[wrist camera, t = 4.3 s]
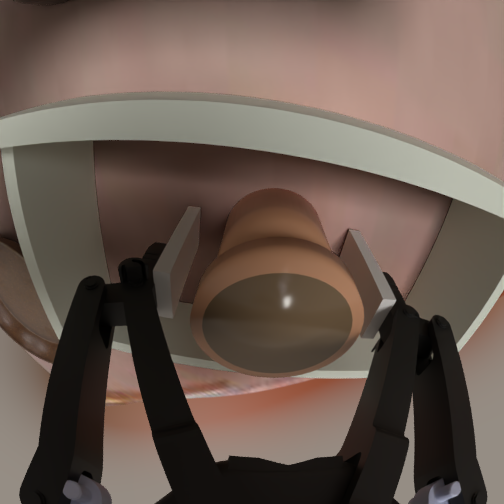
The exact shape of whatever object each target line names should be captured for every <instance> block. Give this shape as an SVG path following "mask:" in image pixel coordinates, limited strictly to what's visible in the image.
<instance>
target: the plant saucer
mask: <svg viewBox="0 0 504 504" xmlns="http://www.w3.org/2000/svg"><path fill="white" fill-rule="evenodd" d="M0 327H1V328H2V330H3V331H4V332H5V333H6V334H7V335H8V336H10V337H11V338H12V339H13V340H14V341H15V342H16V343H17V344H19V345H20V346H21V347H22V348H24V349H25V350H27V351H28V352H30V353H31V354H33V355H35V356H36V357H38V358H40V359H42V360H44V361H46V362H49V363H52V364H53V362H54V358H55V354H56V350H57V347H58V343H59V339H58V337H57V335H56V333H55V331H54V329H53V327H52V325H51V323H50V321H49V319H48V317H47V315H46V313H45V310H44V308H43V306H42V304H41V301H40V299H39V297H38V294H37V292H36V289H35V287H34V284H33V282H32V279H31V276H30V274H29V271H28V268H27V265H26V262H25V259H24V256H23V253H22V250H21V247H20V244H19V243H17V242H14V241H12V240H9V239H5V238H0Z"/></svg>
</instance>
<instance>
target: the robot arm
mask: <svg viewBox="0 0 504 504" xmlns="http://www.w3.org/2000/svg"><path fill="white" fill-rule="evenodd" d="M13 1H16V2H19V3H26V4H34V5H54V4H59V3H63V2H66V1H69V0H13ZM200 212H201V207H193V206H188V208H187V210H186V211H185V213H184V215H183V217H182V218H181V220H180V222H179V223H178V225H177V227H176V229H175V230H174V232H173V234H172V236H171V238H170V239H169V241H168V243H167V244H165V243H157V242H155V243H154V244H152V245H151V246H150V247H149V248H148V249H147V251H146V253H145V254H144V256H143V258H142V259H141V258H129V259H126V260H124V261H122V262H121V263H120V265H119V267H118V271H119V276H120V281H121V282H120V283H113V284H105V281H104V279H103V278H102V277H100V276H96V275H93V276H88V277H86V278H84V279H83V280H81V281H80V283H79V285H78V287H77V290H76V292H75V295H74V298H73V300H72V303H71V306H70V309H69V312H68V315H67V318H66V321H65V324H64V327H63V330H62V333H61V337H60V340H59V343H58V347H57V350H56V354H55V358H54V362H53V366H52V370H51V374H50V379H49V383H48V387H47V392H46V398H45V403H44V408H43V415H42V421H41V428H40V436H39V446H38V448H37V450H36V452H35V454H34V457H33V459H32V461H31V463H30V466H29V468H28V470H27V473H26V475H25V478H24V480H23V482H22V485H21V488H20V494H19V496H20V501H21V503H22V504H112V499H111V496H110V494H109V492H108V490H107V489H106V488H104V486H102V485H101V484H100V483H101V477H102V470H103V433H104V432H103V431H104V412H105V400H106V389H107V379H108V370H109V363H110V355H111V348H112V342H113V336H114V330H115V326H127V330H128V336H129V341H130V347H131V352H132V357H133V362H134V366H135V371H136V375H137V379H138V383H139V388H140V391H141V395H142V399H143V403H144V406H145V410H146V414H147V417H148V420H149V423H150V427H151V430H152V437H153V440H154V443H155V447H156V449H157V452H158V455H159V458H160V460H161V463H162V466H163V468H164V471H165V474H166V476H167V479H168V481H169V484H170V486H171V488H172V491H171V492H170V493H168V494H167V495H166V496H164V497H163V498H162V499H161V500H159V501H158V502H156V503H155V504H399V503H398V502H397V501H396V500H395V499H394V498H393V497H394V494H395V491H396V488H397V485H398V482H399V479H400V476H401V473H402V469H403V466H404V462H405V458H406V455H407V451H408V447H409V439H408V438H406V437H405V436H404V431H405V427H406V423H407V418H408V413H409V408H410V403H411V397H412V392H413V406H414V430H415V431H414V433H415V452H414V454H415V455H414V486H415V493H416V494H415V496H414V498H412V499H411V500H410V501H409V503H408V504H486V502H487V491H486V487H485V484H484V480H483V477H482V474H481V470H480V467H479V464H478V461H477V458H476V445H475V436H474V427H473V419H472V413H471V407H470V401H469V396H468V390H467V386H466V381H465V377H464V372H463V368H462V364H461V360H460V356H459V352H458V349H457V345H456V342H455V339H454V335H453V332H452V329H451V326H450V324H449V322H448V321H447V320H446V319H445V318H444V317H443V316H440V315H434V316H433V317H432V318H431V320H430V321H428V320H425V319H422V318H420V316H419V313H418V312H417V310H415V309H414V308H413V307H411V306H410V305H406V303H405V301H404V299H403V297H402V295H401V293H400V292H399V290H398V288H397V286H396V284H395V282H394V280H393V278H392V277H391V276H390V275H389V274H388V273H387V272H382V271H381V269H380V267H379V265H378V263H377V261H376V259H375V258H374V256H373V254H372V252H371V250H370V248H369V247H368V245H367V243H366V241H365V240H364V238H363V236H362V234H361V233H360V231H356V230H351V229H349V231H348V234H347V237H346V240H345V243H344V246H343V249H342V252H341V255H340V257H339V258H340V259H341V260H342V261H343V262H344V263H345V265H346V266H347V267H348V269H349V270H350V272H351V274H352V276H353V279H354V282H355V284H356V287H357V290H358V292H359V295H360V298H361V300H362V304H363V307H364V323H363V327H362V330H361V332H360V337H361V338H364V339H374V337H375V336H376V334H377V332H378V331H379V334H380V338H379V340H378V341H377V343H376V344H375V346H374V347H373V349H372V351H371V352H373V351H374V350H375V352H374V356H373V359H372V363H371V366H370V370H369V373H368V377H367V380H366V383H365V386H364V389H363V392H362V396H361V399H360V401H359V405H358V407H357V410H356V413H355V415H354V418H353V421H352V424H351V426H350V429H349V431H348V434H347V436H346V439H345V441H344V444H343V446H342V448H341V450H340V451H339V453H338V454H337V455H336V456H333V457H320V458H314V459H311V460H307V461H304V462H300V463H296V464H292V465H285V464H281V463H276V462H272V461H269V460H265V459H261V458H252V457H238V456H229V458H228V460H226V461H220V462H215V461H214V458H213V457H212V454H211V452H210V450H209V448H208V446H207V443H206V441H205V439H204V437H203V434H202V432H201V430H200V428H199V426H198V424H197V423H196V422H195V420H194V418H193V416H192V413H191V411H190V408H189V405H188V403H187V400H186V397H185V395H184V392H183V389H182V387H181V384H180V381H179V378H178V375H177V373H176V370H175V367H174V364H173V361H172V358H171V355H170V351H169V348H168V345H167V342H166V339H165V335H164V332H163V329H162V325H161V322H160V318H159V316H161V317H166V318H172V319H173V318H174V315H175V312H176V309H177V306H178V303H179V300H180V297H181V294H182V291H183V288H184V285H185V282H186V280H187V277H188V274H189V271H190V268H191V266H192V263H193V260H194V257H195V255H196V252H197V249H198V247H199V231H200ZM432 354H433V359H432V356H431V355H432Z"/></svg>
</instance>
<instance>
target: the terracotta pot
mask: <svg viewBox="0 0 504 504" xmlns="http://www.w3.org/2000/svg"><path fill="white" fill-rule="evenodd" d="M363 323H364V307H363V304H362V300H361V298H360V295H359V292H358V290H357V287H356V284H355V282H354V279H353V276H352V274H351V272H350V270H349V269H348V267H347V266H346V265H345V263H344V262H343V261H342V260H341V259H340V258H339V257H338V256H337V255H336V254H334V253H333V252H331V249H330V246H329V243H328V241H327V238H326V235H325V233H324V230H323V227H322V225H321V222H320V219H319V217H318V214H317V212H316V211H315V209H314V207H313V206H312V205H311V204H310V203H309V202H308V201H307V200H306V199H305V198H303V197H302V196H301V195H299V194H297V193H295V192H292V191H289V190H285V189H279V188H268V189H262V190H258V191H255V192H253V193H251V194H249V195H247V196H245V197H244V198H242V199H241V200H240V201H239V202H238V203H237V204H236V205H235V206H234V207H233V209H232V210H231V212H230V214H229V216H228V219H227V222H226V226H225V229H224V233H223V237H222V241H221V245H220V249H219V253H218V257H217V258H216V259H215V260H214V261H213V262H212V263H211V264H210V265H209V266H208V268H207V269H206V270H205V272H204V273H203V275H202V277H201V279H200V282H199V285H198V289H197V292H196V296H195V299H194V303H193V306H192V310H191V314H190V326H191V331H192V334H193V337H194V339H195V341H196V343H197V344H198V345H199V347H200V348H201V349H202V350H203V351H204V352H205V353H206V354H207V355H208V356H209V357H210V358H211V359H213V360H214V361H216V362H217V363H219V364H220V365H222V366H224V367H226V368H228V369H231V370H233V371H236V372H239V373H243V374H246V375H251V376H257V377H269V378H279V377H291V376H297V375H302V374H305V373H309V372H312V371H315V370H318V369H320V368H322V367H325V366H327V365H328V364H330V363H332V362H334V361H335V360H337V359H338V358H340V357H341V356H342V355H343V354H344V353H346V352H347V351H348V350H349V349H350V348H351V346H352V345H353V344H354V343H355V341H356V340H357V338H358V336H359V334H360V332H361V330H362V327H363Z"/></svg>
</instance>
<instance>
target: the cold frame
mask: <svg viewBox="0 0 504 504" xmlns="http://www.w3.org/2000/svg"><path fill="white" fill-rule="evenodd" d="M93 140H150V141H172V142H187V143H200V144H211V145H221V146H230V147H238V148H246V149H253V150H261V151H267V152H274V153H280V154H286V155H292V156H297V157H303V158H308V159H313V160H318V161H323V162H328V163H333V164H337V165H342V166H346V167H350V168H354V169H359V170H363V171H367V172H371V173H374V174H378V175H382V176H386V177H389V178H393V179H396V180H400V181H403V182H406V183H410V184H413V185H416V186H419V187H423V188H426V189H429V190H432V191H435V192H438V193H441V194H443V195H446V196H449V197H452V198H453V200H452V203H451V206H450V208H449V211H448V213H447V216H446V218H445V221H444V223H443V226H442V228H441V230H440V233H439V235H438V237H437V239H436V242H435V244H434V246H433V248H432V250H431V252H430V255H429V257H428V259H427V261H426V263H425V265H424V267H423V269H422V271H421V273H420V275H419V277H418V278H417V280H416V282H415V284H414V286H413V288H412V290H411V291H410V293H409V295H408V297H407V299H406V300H405V303H406V305H410V306H411V307H413V308H414V309H415V310H417V312H418V313H419V316H420V318H422V319H425V320H428V321H430V320H431V318H432V317H433V316H434V315H440V316H443V317H444V318H445V319H446V320H447V321H448V322H449V324H450V326H451V329H452V332H453V335H454V339H455V342H456V345H457V349H458V352H459V351H460V350H461V348H462V347H463V346H464V345H465V343H466V342H467V341H468V340H469V338H470V337H471V336H472V335H473V333H474V332H475V331H476V330H477V328H478V327H479V325H480V324H481V323H482V321H483V320H484V319H485V317H486V316H487V314H488V313H489V311H490V310H491V308H492V307H493V305H494V304H495V302H496V301H497V299H498V298H499V296H500V295H501V293H502V291H503V290H504V182H503V181H502V180H500V179H499V178H497V177H495V176H494V175H492V174H490V173H489V172H487V171H485V170H484V169H482V168H480V167H478V166H477V165H475V164H473V163H471V162H469V161H467V160H465V159H463V158H461V157H459V156H457V155H454V154H452V153H450V152H448V151H446V150H443V149H441V148H439V147H436V146H434V145H432V144H429V143H427V142H424V141H422V140H419V139H417V138H414V137H412V136H409V135H406V134H403V133H401V132H398V131H395V130H392V129H389V128H386V127H383V126H380V125H377V124H374V123H370V122H367V121H364V120H360V119H357V118H353V117H350V116H346V115H342V114H338V113H334V112H330V111H326V110H321V109H317V108H312V107H308V106H303V105H298V104H292V103H287V102H281V101H275V100H268V99H261V98H254V97H246V96H237V95H227V94H214V93H198V92H131V93H115V94H103V95H94V96H85V97H78V98H73V99H68V100H63V101H58V102H53V103H49V104H45V105H41V106H37V107H33V108H29V109H25V110H22V111H19V112H15V113H12V114H9V115H6V116H3V117H0V148H1V156H2V164H3V171H4V178H5V184H6V190H7V195H8V200H9V205H10V209H11V214H12V218H13V222H14V226H15V230H16V233H17V237H18V240H19V244H20V247H21V250H22V253H23V256H24V259H25V262H26V265H27V268H28V271H29V274H30V276H31V279H32V282H33V284H34V287H35V289H36V292H37V294H38V297H39V299H40V301H41V304H42V306H43V308H44V310H45V313H46V315H47V317H48V319H49V321H50V323H51V325H52V327H53V329H54V331H55V333H56V335H57V337H58V339H59V340H60V337H61V333H62V330H63V327H64V324H65V321H66V318H67V315H68V312H69V309H70V306H71V303H72V300H73V298H74V295H75V292H76V290H77V287H78V285H79V283H80V281H81V280H83V279H84V278H86V277H88V276H93V275H96V276H100V277H102V278H103V279H104V281H105V284H111V282H110V277H109V273H108V268H107V263H106V258H105V252H104V246H103V240H102V234H101V227H100V220H99V213H98V204H97V195H96V184H95V171H94V152H93ZM192 306H193V304H190V303H184V302H179V303H178V306H177V309H176V312H175V315H174V318H173V319H172V318H166V317H161V316H159V318H160V322H161V325H162V329H163V332H164V335H165V339H166V342H167V345H168V348H169V351H170V355H171V358H172V361H173V363H179V364H184V365H190V366H196V367H202V368H209V369H216V370H223V371H231V372H236V371H233V370H231V369H228V368H226V367H224V366H222V365H220V364H219V363H217V362H216V361H214V360H213V359H211V358H210V357H209V356H208V355H207V354H206V353H205V352H204V351H203V350H202V349H201V348H200V347H199V345H198V344H197V343H196V341H195V339H194V337H193V334H192V331H191V326H190V314H191V310H192ZM379 338H380V334H379V331H378V332H377V334H376V336H375V337H374V339H364V338H361V337H360V334H359V336H358V338H357V340H356V341H355V343H354V344H353V345H352V346H351V348H350V349H349V350H348V351H347V352H346V353H344V354H343V355H342V356H341V357H340V358H338V359H337V360H335V361H334V362H332V363H330V364H328V365H327V366H325V367H322V368H320V369H318V370H315V371H312V372H309V373H305V374H302V375H297V376H291V377H302V378H367V377H368V373H369V370H370V366H371V363H372V359H373V356H374V352H375V350H374V351H373V352H371V351H372V349H373V347H374V346H375V344H376V343H377V341H378V340H379ZM112 348H113V349H116V350H120V351H124V352H128V353H132V352H131V347H130V341H129V336H128V330H127V326H115V330H114V336H113V342H112ZM431 356H432V359H433V354H432V355H431Z"/></svg>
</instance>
